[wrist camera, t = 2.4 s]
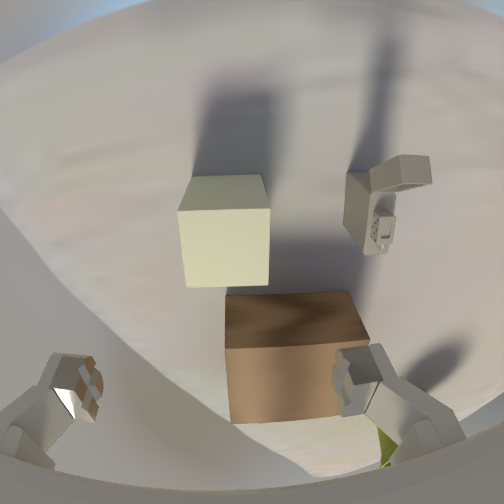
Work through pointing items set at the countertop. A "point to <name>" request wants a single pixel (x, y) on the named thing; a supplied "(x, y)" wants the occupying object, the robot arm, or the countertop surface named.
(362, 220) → the lighter
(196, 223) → the sage block
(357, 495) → the robot arm
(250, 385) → the walnut block
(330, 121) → the countertop surface
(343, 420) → the countertop surface
